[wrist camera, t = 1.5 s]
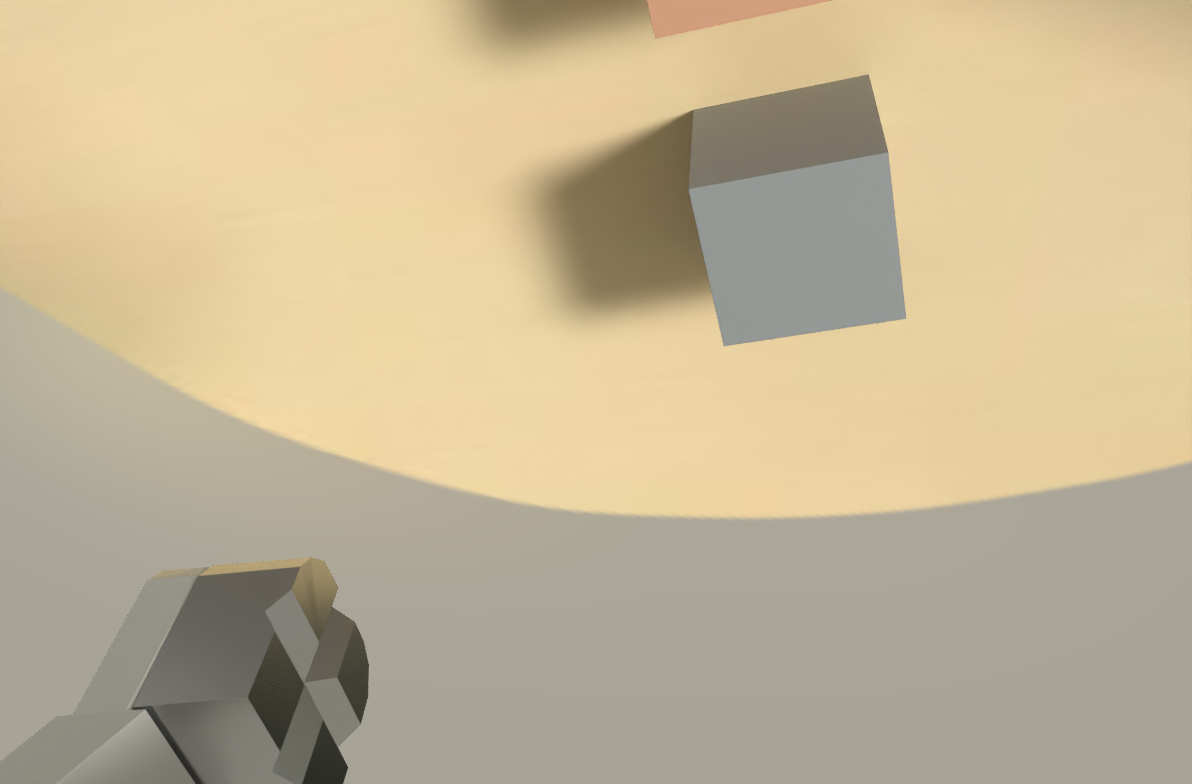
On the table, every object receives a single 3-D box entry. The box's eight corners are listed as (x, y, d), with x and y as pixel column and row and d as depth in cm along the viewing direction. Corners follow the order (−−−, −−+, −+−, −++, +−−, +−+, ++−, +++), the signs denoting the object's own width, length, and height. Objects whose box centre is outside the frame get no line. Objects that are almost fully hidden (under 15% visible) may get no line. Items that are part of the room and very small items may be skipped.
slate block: (868, 73, 31) (888, 152, 28) (885, 227, 34) (906, 318, 30) (693, 108, 33) (688, 189, 29) (724, 254, 35) (723, 346, 32)
